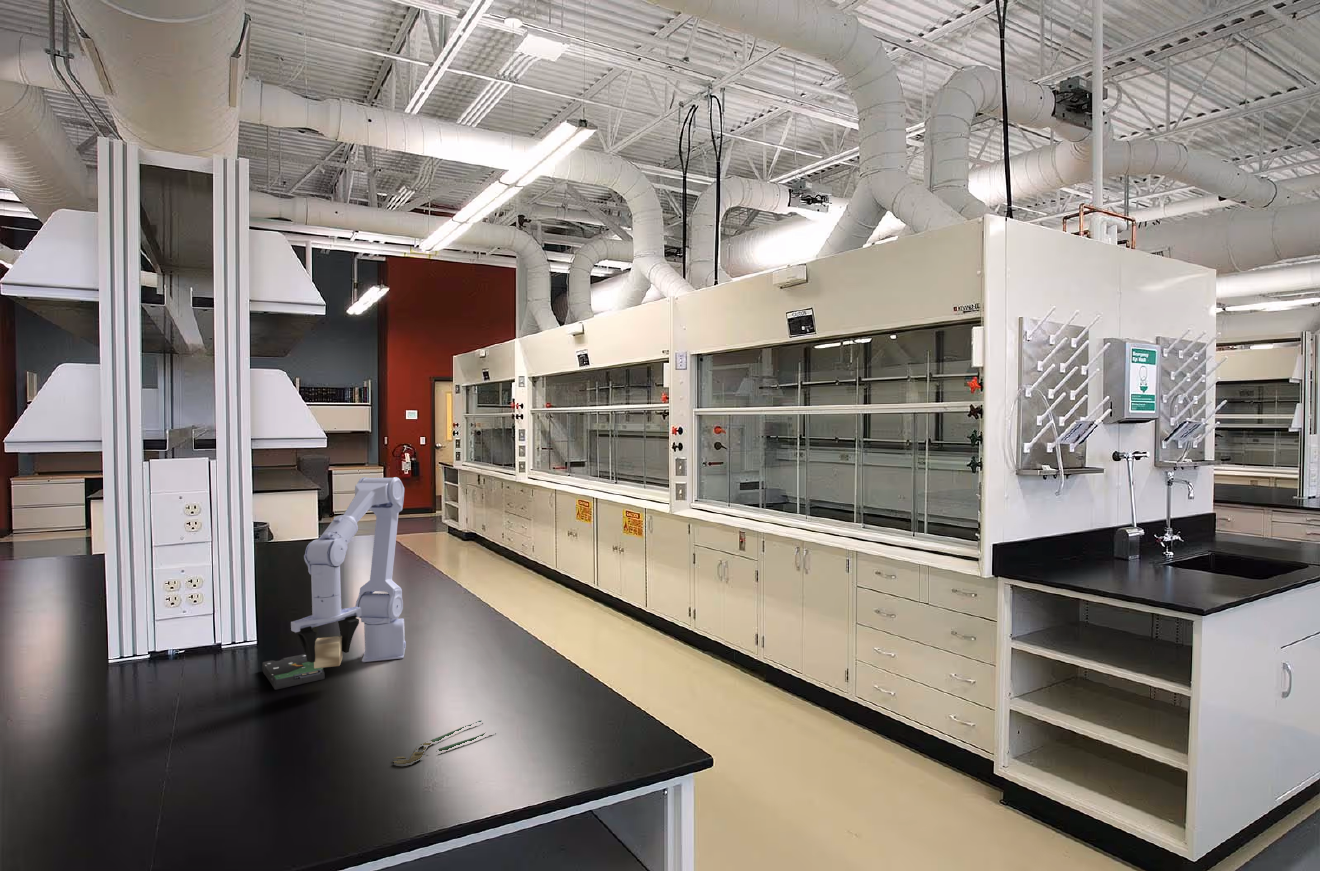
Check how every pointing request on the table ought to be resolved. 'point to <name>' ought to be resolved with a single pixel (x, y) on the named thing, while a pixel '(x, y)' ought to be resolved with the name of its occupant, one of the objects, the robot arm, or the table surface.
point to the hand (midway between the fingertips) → (328, 656)
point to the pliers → (419, 754)
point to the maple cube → (328, 652)
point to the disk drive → (291, 671)
